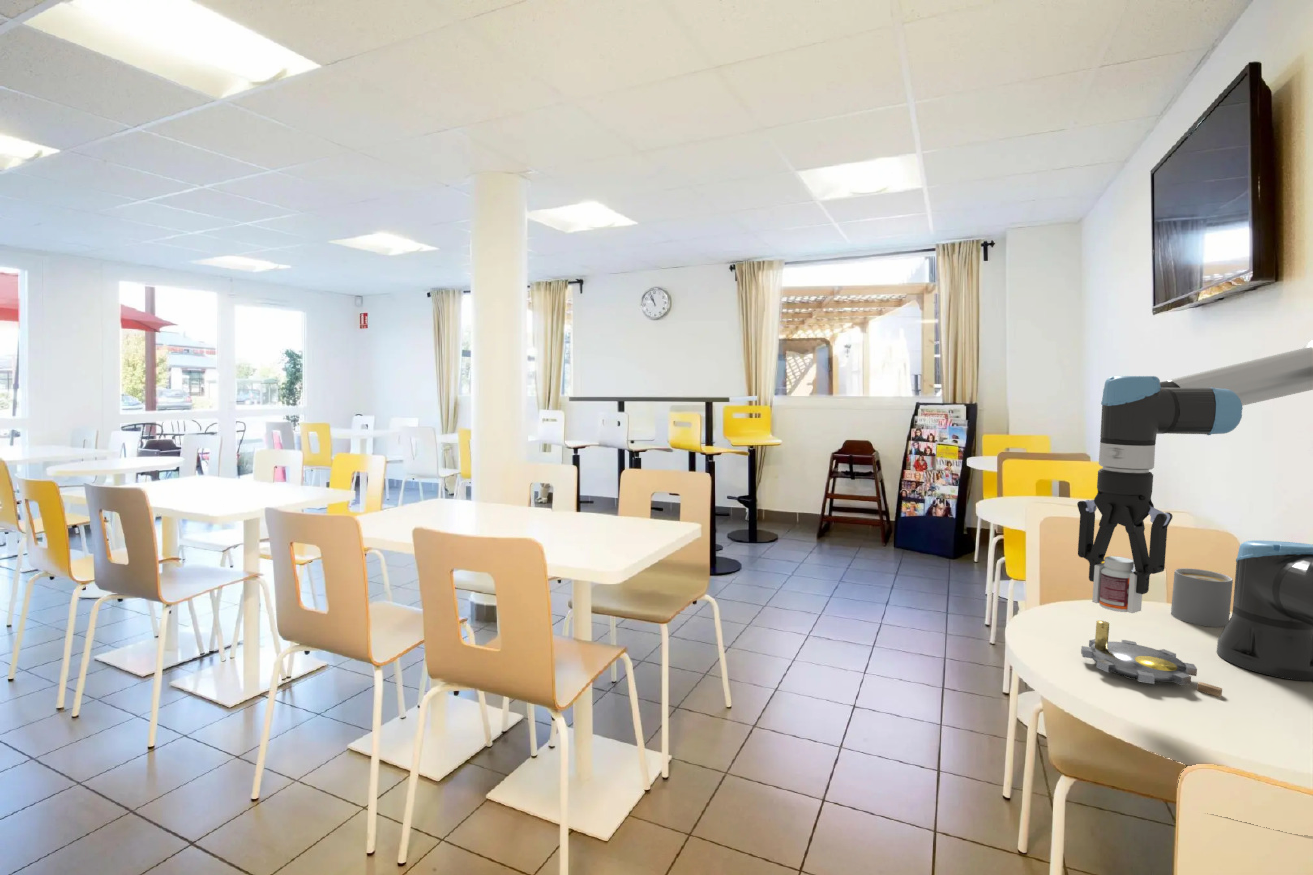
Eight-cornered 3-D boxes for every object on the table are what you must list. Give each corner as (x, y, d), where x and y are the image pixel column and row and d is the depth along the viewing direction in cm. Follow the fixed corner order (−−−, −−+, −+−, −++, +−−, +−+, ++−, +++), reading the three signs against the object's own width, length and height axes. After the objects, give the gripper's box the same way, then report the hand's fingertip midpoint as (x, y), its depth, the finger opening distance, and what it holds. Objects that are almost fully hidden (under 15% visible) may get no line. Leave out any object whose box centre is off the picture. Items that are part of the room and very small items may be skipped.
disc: (1124, 640, 131) (1127, 609, 130) (1220, 677, 115) (1223, 642, 115) (1060, 651, 126) (1062, 618, 125) (1150, 691, 110) (1153, 654, 109)
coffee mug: (1230, 630, 141) (1234, 584, 140) (1170, 619, 147) (1174, 575, 146) (1225, 613, 151) (1230, 570, 150) (1170, 603, 157) (1174, 562, 156)
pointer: (1197, 690, 113) (1197, 683, 113) (1199, 688, 114) (1199, 681, 114) (1219, 697, 111) (1220, 690, 111) (1221, 695, 112) (1222, 688, 111)
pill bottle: (1133, 614, 109) (1136, 564, 108) (1098, 608, 112) (1101, 559, 111) (1133, 606, 113) (1137, 558, 112) (1100, 601, 116) (1103, 553, 115)
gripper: (1057, 464, 116) (1050, 594, 118) (1176, 478, 101) (1165, 627, 103) (1082, 461, 120) (1074, 588, 122) (1200, 474, 104) (1189, 619, 106)
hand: (1116, 605), depth 112 cm, fingers closed on pill bottle, 5 cm apart
